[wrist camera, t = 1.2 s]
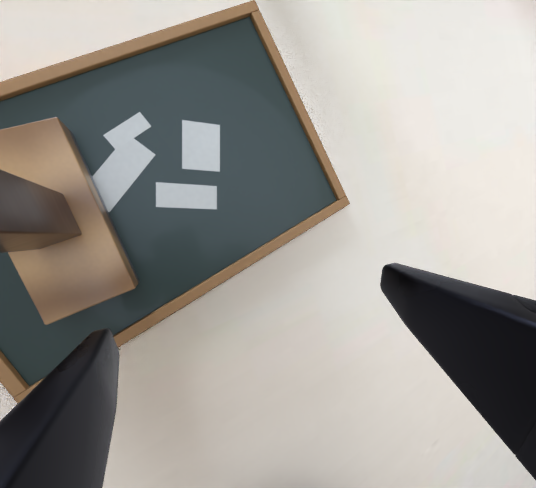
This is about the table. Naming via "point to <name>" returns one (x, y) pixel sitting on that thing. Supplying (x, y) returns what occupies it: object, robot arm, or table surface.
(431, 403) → the table surface
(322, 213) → the slate board
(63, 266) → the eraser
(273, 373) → the table surface
